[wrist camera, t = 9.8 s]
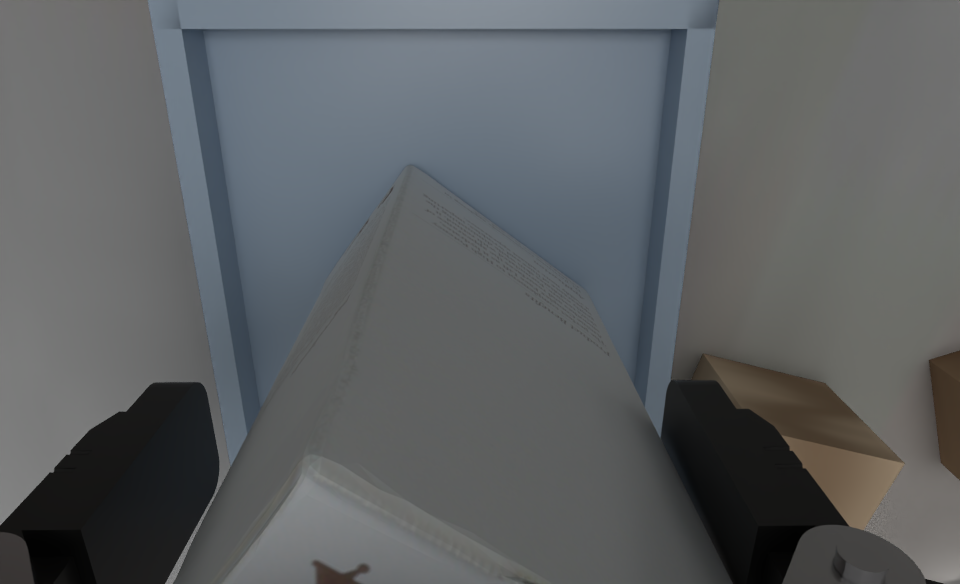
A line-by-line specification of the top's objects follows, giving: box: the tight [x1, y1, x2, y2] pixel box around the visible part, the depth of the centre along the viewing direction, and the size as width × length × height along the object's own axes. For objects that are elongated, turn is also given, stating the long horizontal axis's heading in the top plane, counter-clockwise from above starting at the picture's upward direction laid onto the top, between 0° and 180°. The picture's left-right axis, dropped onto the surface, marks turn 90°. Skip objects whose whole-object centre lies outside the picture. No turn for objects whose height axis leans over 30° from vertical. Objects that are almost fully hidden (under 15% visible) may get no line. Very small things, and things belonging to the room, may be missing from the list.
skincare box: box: [173, 165, 733, 584], centre depth 12 cm, size 6×4×12 cm
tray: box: [148, 0, 719, 465], centre depth 17 cm, size 12×14×2 cm
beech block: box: [691, 354, 905, 530], centre depth 19 cm, size 4×4×4 cm
